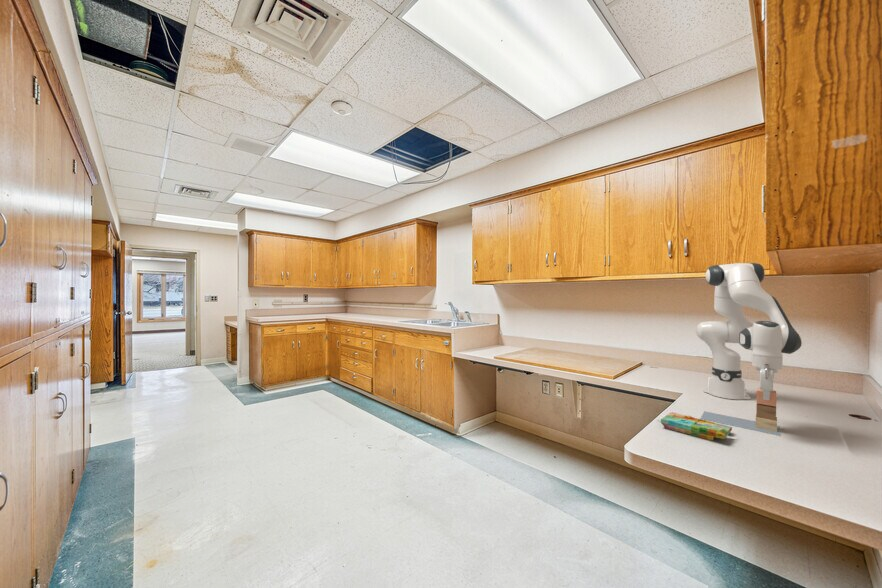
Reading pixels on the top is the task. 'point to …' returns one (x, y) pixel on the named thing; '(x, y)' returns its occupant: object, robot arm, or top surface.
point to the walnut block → (766, 412)
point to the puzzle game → (695, 426)
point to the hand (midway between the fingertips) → (766, 397)
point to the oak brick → (766, 424)
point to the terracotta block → (766, 402)
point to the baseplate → (736, 422)
